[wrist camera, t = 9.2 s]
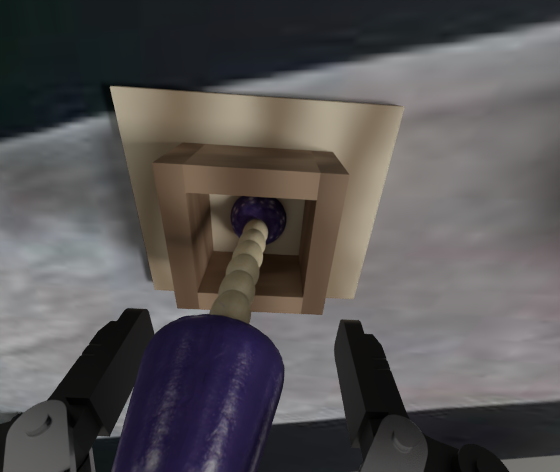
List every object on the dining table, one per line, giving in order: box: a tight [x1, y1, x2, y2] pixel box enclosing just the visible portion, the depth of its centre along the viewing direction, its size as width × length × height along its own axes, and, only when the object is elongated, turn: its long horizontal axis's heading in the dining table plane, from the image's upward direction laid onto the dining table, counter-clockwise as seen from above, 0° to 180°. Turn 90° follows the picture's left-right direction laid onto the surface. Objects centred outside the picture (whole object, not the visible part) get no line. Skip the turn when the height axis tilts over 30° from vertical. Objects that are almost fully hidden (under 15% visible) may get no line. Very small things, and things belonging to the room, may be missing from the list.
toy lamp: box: [111, 196, 287, 472], centre depth 13 cm, size 5×5×17 cm
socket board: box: [110, 86, 404, 315], centre depth 19 cm, size 18×16×6 cm
